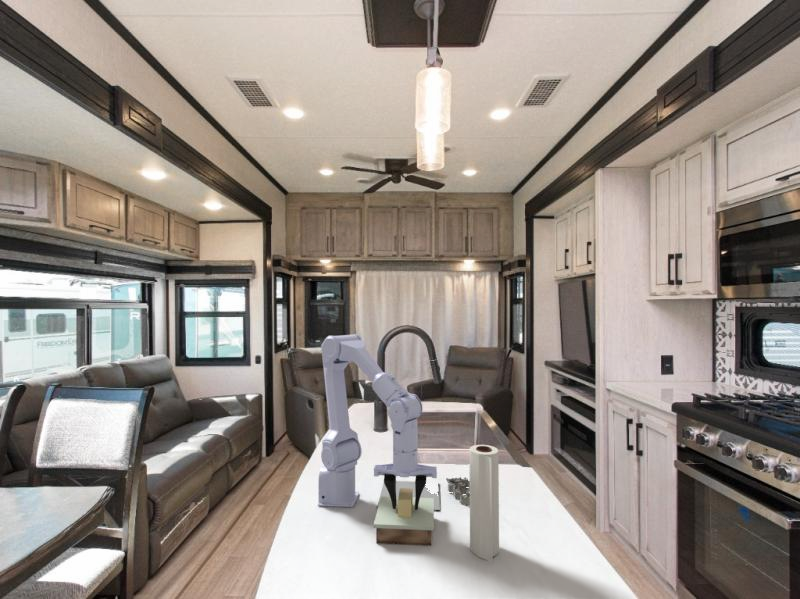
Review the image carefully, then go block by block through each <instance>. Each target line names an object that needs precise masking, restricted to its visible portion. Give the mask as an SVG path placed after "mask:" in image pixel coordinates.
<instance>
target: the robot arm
mask: <svg viewBox="0 0 800 599" xmlns="http://www.w3.org/2000/svg"><path fill="white" fill-rule="evenodd" d="M366 344H367V343H366V342H365V340H363V338H362V337H361V336H360V335H359V334H357V333H353V334H345V335H344V334H343V335H328V336H326V337H325V338H324V340H323V342H322V344H321V345H320V348H321V349H320V350H321V356H322V357H321V359H322V366H323V375H324V377H323V378H324V385H325V386H324V387H325V396H326V405H327V406H326V408H327V414H328V415H327V416H328V424H329V431H328V432H327V434H326V435H325V436H324V437H323V439H322V441H321V443H322V448H321V453H320V454H321V456H320V457H321V462H322V466H321V467H320V470H319V473H318V503H317V506H319V507H338V508H339V507H341V508H342V507H343V508H355V505H356V502H357V499H358V496H359V494H360V491H356V465H358V460H360V458H361V457H362V446H361V443H360V441H359V436H358V433H357V432H356V431H355V430H354V429H352V428H351V425H350V416H349V415H350V414H349V406H348V405H349V404H348V397H347V395H348V394H347V388H346V387H347V385H346V380H345V378H346V377H345V369H346V368H347V367H348V365H349V364H350V363H354V364H355V365H356V366H357V367H358V368H359V369H360V370H361V371H362V372H363V374H365V375H366V376H367V378H368V379H369V380H370V381H371V383H372V384H371V386H372V390H373V392H375V394H376V395H377V397H379V399H380V400H381V401H382V402H383V403H384V405H385V406H386V407H387V409H386V410H387V415H388V418H389V420H390V423H391V424H390V425H391V426H390V427H391V429H392V463H387V464H386V463H385V464H375V465H374V467H373V476H374V477H379V476H383V484H385V486H386V488H387V490H388V492H389V495H390V498H391V501H392V507H393V509H396V502H397V499H396V481H397V477H400V478H409V477H415V480H414V482H415V495H416V496H415V510H418V504H419V499H420V496H421V493H422V491H423V489H424V487H425V484H426V482H427V478H428V477H430V478H432V479H438V469H437V466H430V465H425V464H419V462H418V455H419V454H418V449H419V447H418V446H419V444H418V443H419V442H418V437H419V436H418V435H419V434H418V431H419V430H418V426H419V425H418V418H420V416H421V415H422V413H423V403H422V401H421V399H420V398H419V396H418V395H417V394H414V393H410V392H409V391H407V390H406V389H404V387H403V386H402V385H401V384H400V383H399V382H398V380H396V376H395V375H394V374H393V373H391V372H384V371H383V370H382V369H381V367H380V366H379V364H377V362H376V361H375V359H374V358H373V357H372V355H371V354H370V353H369V350H367V348H366V346H367V345H366Z"/></svg>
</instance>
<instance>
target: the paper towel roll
mask: <svg viewBox="0 0 800 599" xmlns="http://www.w3.org/2000/svg"><path fill="white" fill-rule="evenodd" d="M499 469H500V468H499V449H498V448H497V447H495V446H493V445H488V444H475V445H472V446H470V447H469V481H470V492H469V497H470V505H469V547H470V550H471V552H472V553H473V554H475V555H476V556H477V557H478V558H481V559H482V560H486V561H488V562H489V563H490V564H493V557H496V556H497V554H499V552H500V504H499V503H500V501H499V498H500V497H499V496H500V494H499V486H500V480H499Z"/></svg>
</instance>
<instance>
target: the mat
mask: <svg viewBox="0 0 800 599" xmlns="http://www.w3.org/2000/svg"><path fill="white" fill-rule="evenodd" d="M425 486H426V485H425ZM400 488H413V497H414V498H415V496H416V495H415V481H407V480H405V481H404V480H403V481H402V480H396V497H399V491H400ZM427 490H428V488H426V487H424V489H423V491H422V493H421V496H420V498H434V510H441V509H440V506H441V504H440V503H441V502H440V494H439V495H438V496H437V494H435V493H434V494H431V493H430V492H429V491H430V490H429V491H427ZM437 493H438V492H437ZM381 496H385V497H390V495H389V492H388V490H387V488H386V486H385V484H384V483H383V485H382V487H381V491H380V495H379V498H378V502H377V505H376V509H377V510H378V507H379V503H380V499H381Z"/></svg>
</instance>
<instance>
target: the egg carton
mask: <svg viewBox="0 0 800 599" xmlns="http://www.w3.org/2000/svg"><path fill="white" fill-rule="evenodd" d="M445 479H446V482H447V492H448V491H449V492H453V493H454V494H453V498H454V497H455V498H460V499H459V504H460V503H461V504H463V505H464V504H467V505H469V506H470V496H469V497H468V495H467V488H466V487H469V488H468V492H469V493H470V480H468V478H467V477H464V478H462V477H461V476H460V477H452V478H447V477H446V478H445ZM463 494H466V495H463ZM455 498H454V499H455ZM461 504H460V505H461ZM467 505H466V506H467Z"/></svg>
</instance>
